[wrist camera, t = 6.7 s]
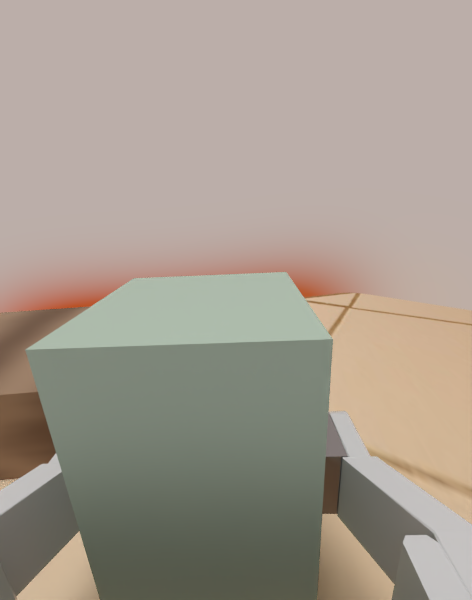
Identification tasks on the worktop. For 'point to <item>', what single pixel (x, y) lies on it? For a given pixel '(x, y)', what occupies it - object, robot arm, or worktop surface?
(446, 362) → the worktop surface
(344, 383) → the worktop surface
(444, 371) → the worktop surface
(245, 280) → the sage block
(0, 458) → the walnut block
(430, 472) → the worktop surface
